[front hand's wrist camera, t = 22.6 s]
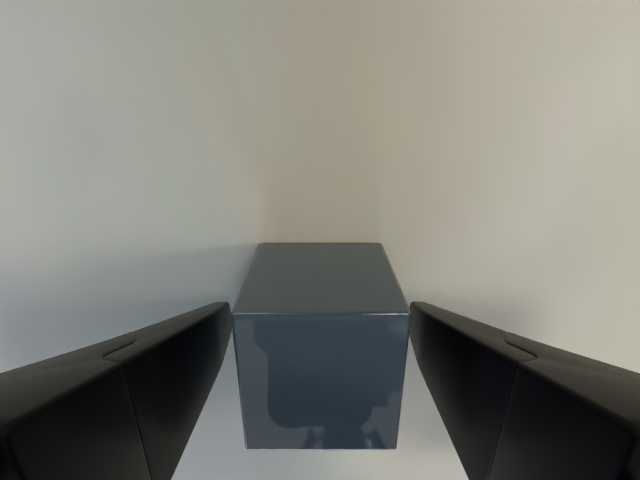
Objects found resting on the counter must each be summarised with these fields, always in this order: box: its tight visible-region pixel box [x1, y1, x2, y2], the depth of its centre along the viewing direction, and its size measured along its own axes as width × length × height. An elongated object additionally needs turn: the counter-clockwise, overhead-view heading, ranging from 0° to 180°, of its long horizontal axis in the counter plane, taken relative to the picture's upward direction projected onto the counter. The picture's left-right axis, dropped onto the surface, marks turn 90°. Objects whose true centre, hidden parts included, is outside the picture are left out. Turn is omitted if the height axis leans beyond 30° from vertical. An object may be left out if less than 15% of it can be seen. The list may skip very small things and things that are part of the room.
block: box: [231, 244, 411, 450], centre depth 11 cm, size 4×4×4 cm
